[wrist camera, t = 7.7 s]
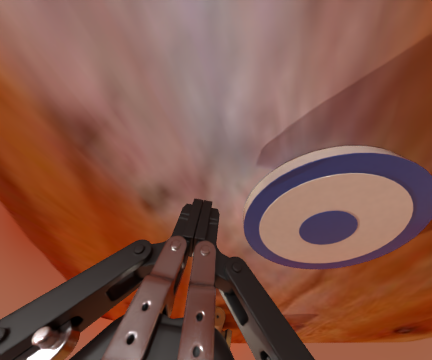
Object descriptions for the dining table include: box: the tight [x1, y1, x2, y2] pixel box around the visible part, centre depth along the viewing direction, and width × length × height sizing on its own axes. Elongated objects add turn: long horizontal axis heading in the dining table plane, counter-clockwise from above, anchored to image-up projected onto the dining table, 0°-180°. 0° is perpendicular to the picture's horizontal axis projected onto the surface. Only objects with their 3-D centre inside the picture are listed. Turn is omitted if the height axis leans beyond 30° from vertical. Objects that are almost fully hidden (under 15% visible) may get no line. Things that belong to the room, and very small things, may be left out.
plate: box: [243, 146, 432, 269], centre depth 14 cm, size 14×14×1 cm
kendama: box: [215, 307, 232, 348], centre depth 34 cm, size 8×6×18 cm
